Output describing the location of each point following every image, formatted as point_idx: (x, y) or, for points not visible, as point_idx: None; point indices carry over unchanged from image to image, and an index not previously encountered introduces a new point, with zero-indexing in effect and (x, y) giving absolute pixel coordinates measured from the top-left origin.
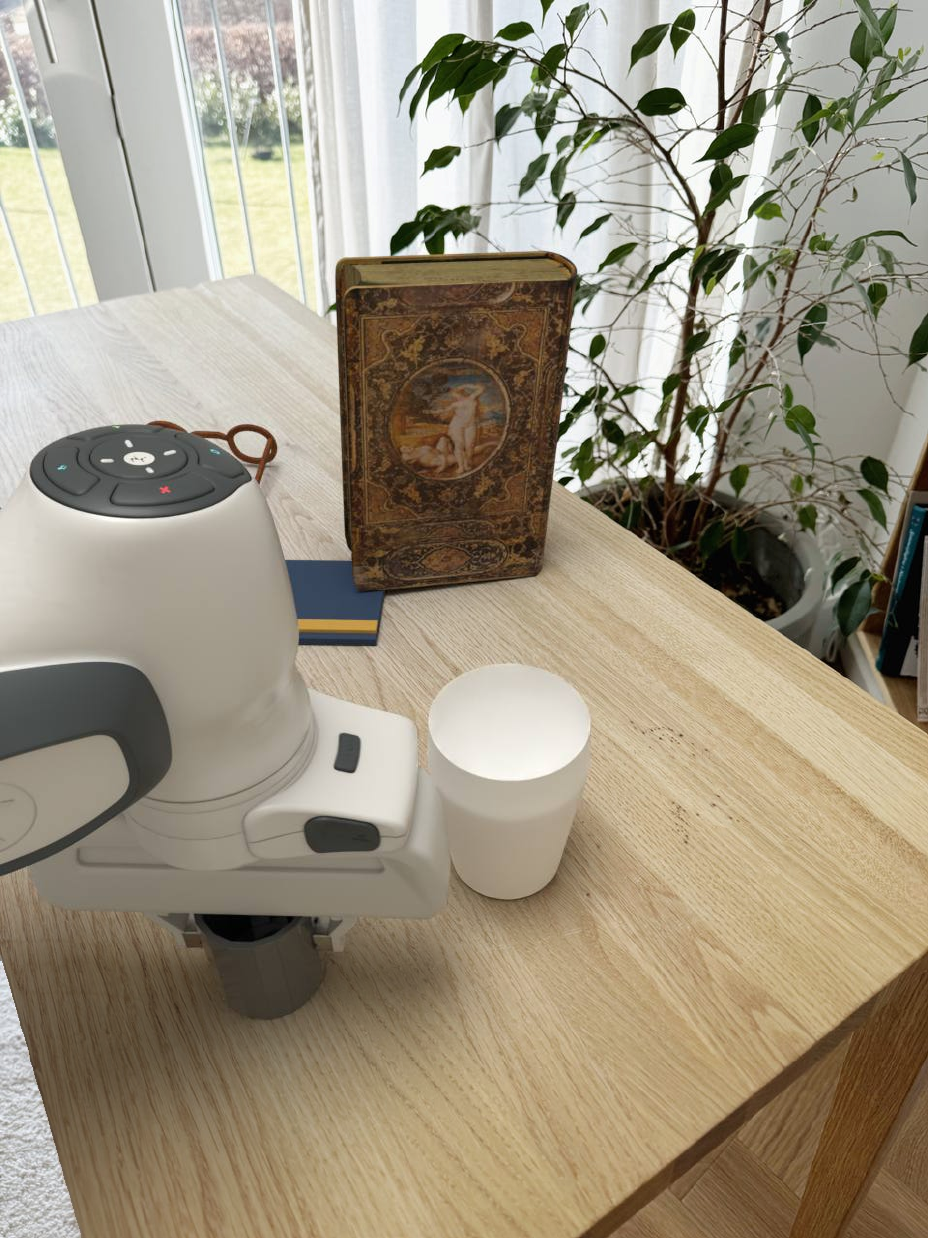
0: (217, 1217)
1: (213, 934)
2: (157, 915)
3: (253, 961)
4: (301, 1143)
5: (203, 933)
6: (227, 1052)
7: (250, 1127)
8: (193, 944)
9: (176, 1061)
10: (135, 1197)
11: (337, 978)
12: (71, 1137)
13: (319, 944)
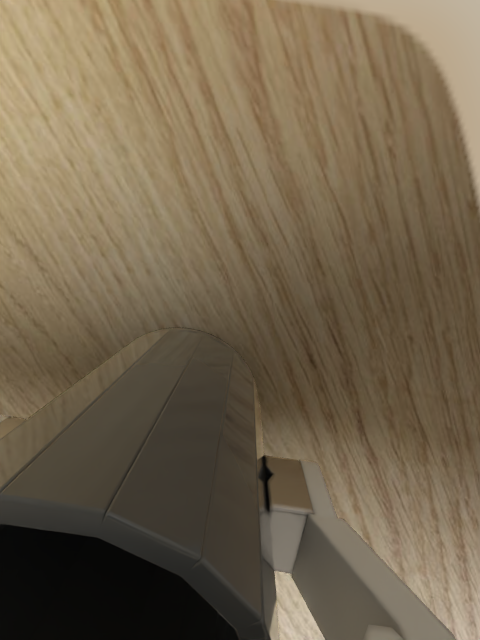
0: (231, 12)
1: (182, 573)
2: (405, 635)
3: (75, 429)
4: (111, 127)
5: (224, 584)
6: (235, 286)
7: (191, 163)
8: (287, 468)
9: (309, 282)
10: (364, 64)
11: None
12: (465, 180)
13: None
